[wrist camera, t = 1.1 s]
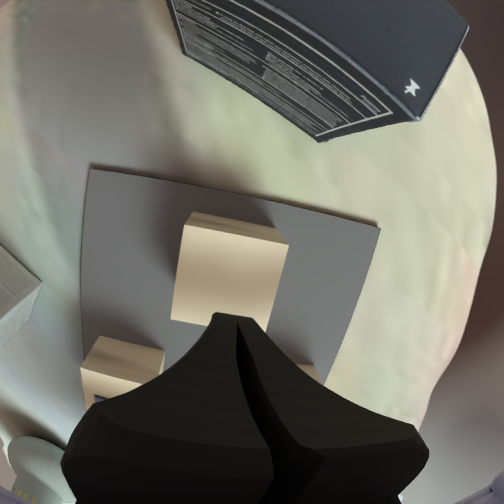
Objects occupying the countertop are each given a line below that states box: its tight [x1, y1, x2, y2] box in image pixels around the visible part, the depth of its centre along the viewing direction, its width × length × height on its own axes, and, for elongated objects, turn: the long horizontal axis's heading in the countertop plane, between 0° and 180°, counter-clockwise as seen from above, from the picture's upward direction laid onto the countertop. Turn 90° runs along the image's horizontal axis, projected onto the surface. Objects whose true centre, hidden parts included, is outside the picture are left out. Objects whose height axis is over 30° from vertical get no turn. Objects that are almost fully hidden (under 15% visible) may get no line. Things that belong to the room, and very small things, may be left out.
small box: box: [166, 0, 469, 143], centre depth 11 cm, size 11×6×10 cm, turn 55°
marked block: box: [80, 336, 165, 410], centre depth 18 cm, size 5×5×4 cm
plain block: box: [171, 211, 289, 332], centre depth 17 cm, size 5×5×4 cm
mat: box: [81, 169, 381, 385], centre depth 20 cm, size 18×19×1 cm
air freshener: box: [8, 436, 76, 504], centre depth 19 cm, size 11×8×10 cm
